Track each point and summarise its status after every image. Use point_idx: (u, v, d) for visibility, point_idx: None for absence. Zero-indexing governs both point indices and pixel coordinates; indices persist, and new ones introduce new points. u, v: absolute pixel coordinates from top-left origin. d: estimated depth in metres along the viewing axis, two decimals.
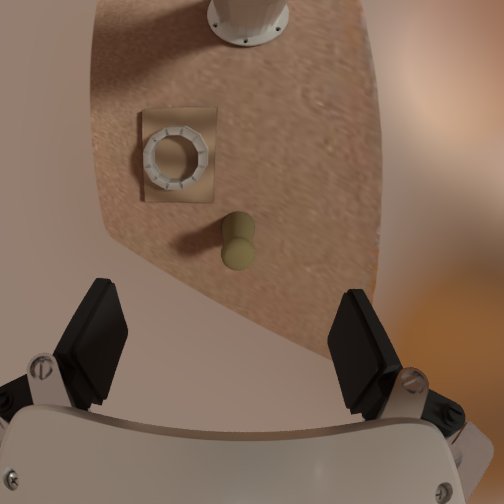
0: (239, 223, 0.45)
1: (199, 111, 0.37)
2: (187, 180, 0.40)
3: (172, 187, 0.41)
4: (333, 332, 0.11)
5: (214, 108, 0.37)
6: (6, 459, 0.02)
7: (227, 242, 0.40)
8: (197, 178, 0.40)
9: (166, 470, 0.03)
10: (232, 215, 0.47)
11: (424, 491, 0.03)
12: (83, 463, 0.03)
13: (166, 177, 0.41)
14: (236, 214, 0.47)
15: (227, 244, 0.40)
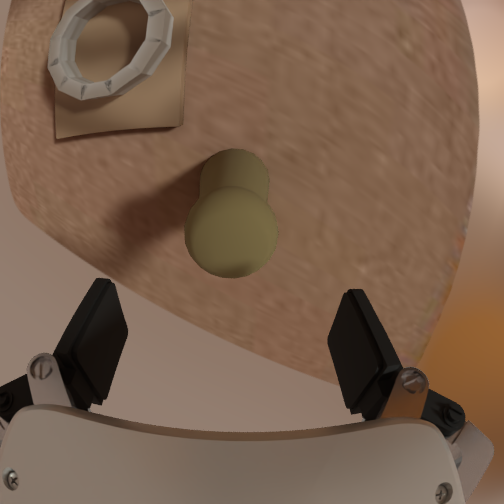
0: (235, 166, 0.18)
1: None
2: (121, 72, 0.14)
3: (92, 93, 0.14)
4: (333, 331, 0.11)
5: None
6: (6, 459, 0.02)
7: (201, 199, 0.14)
8: (142, 65, 0.14)
9: (166, 470, 0.03)
10: (222, 155, 0.20)
11: (424, 491, 0.03)
12: (83, 463, 0.03)
13: (88, 81, 0.15)
14: (230, 152, 0.21)
15: (200, 205, 0.13)
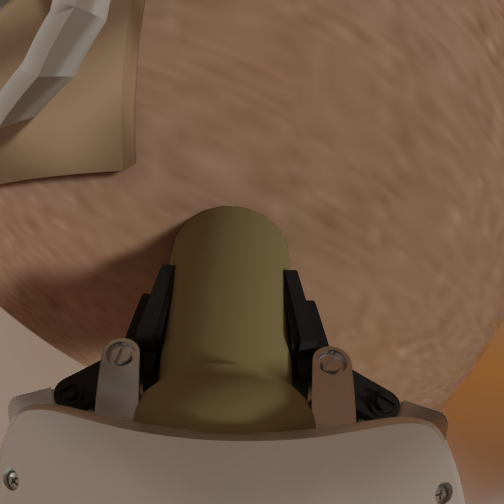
0: (229, 263, 0.09)
1: None
2: (11, 81, 0.05)
3: None
4: None
5: None
6: (6, 459, 0.02)
7: (147, 420, 0.05)
8: (40, 60, 0.05)
9: (166, 470, 0.03)
10: (206, 223, 0.11)
11: (424, 491, 0.03)
12: (83, 463, 0.03)
13: None
14: (221, 217, 0.12)
15: None
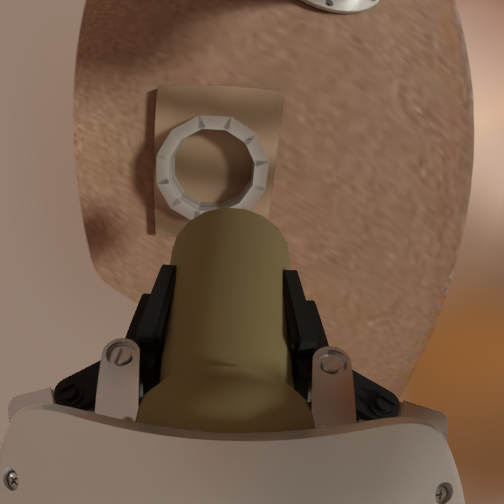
0: (230, 265, 0.09)
1: (256, 94, 0.22)
2: None
3: None
4: None
5: (280, 93, 0.22)
6: (6, 459, 0.02)
7: (148, 421, 0.05)
8: (249, 206, 0.25)
9: (166, 470, 0.03)
10: (207, 224, 0.11)
11: (424, 491, 0.03)
12: (83, 463, 0.03)
13: (193, 200, 0.26)
14: (221, 219, 0.12)
15: None
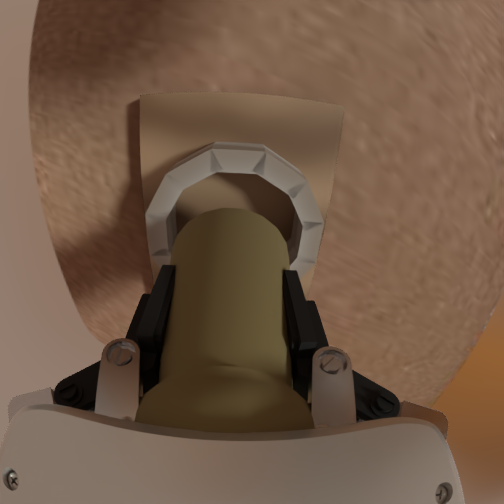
0: (229, 265, 0.09)
1: (301, 109, 0.14)
2: None
3: None
4: None
5: (339, 108, 0.14)
6: (6, 459, 0.02)
7: (148, 422, 0.05)
8: None
9: (166, 470, 0.03)
10: (206, 225, 0.11)
11: (424, 491, 0.03)
12: (83, 463, 0.03)
13: None
14: (221, 219, 0.12)
15: None
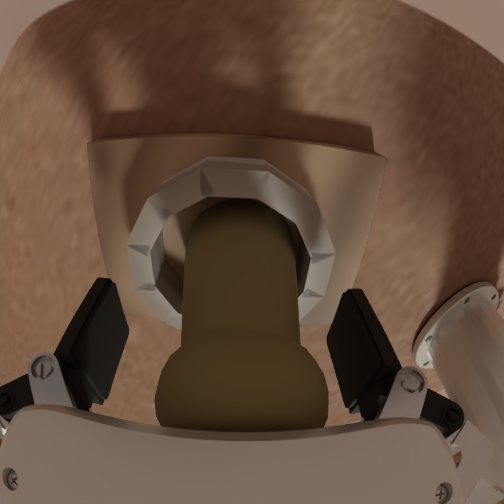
0: (243, 246, 0.11)
1: (340, 296, 0.17)
2: (164, 303, 0.14)
3: (136, 263, 0.12)
4: (332, 331, 0.11)
5: None
6: (6, 459, 0.02)
7: (177, 373, 0.06)
8: (174, 324, 0.15)
9: (166, 470, 0.03)
10: (220, 213, 0.13)
11: (424, 491, 0.03)
12: (83, 463, 0.03)
13: (164, 223, 0.13)
14: (232, 208, 0.13)
15: (176, 394, 0.06)
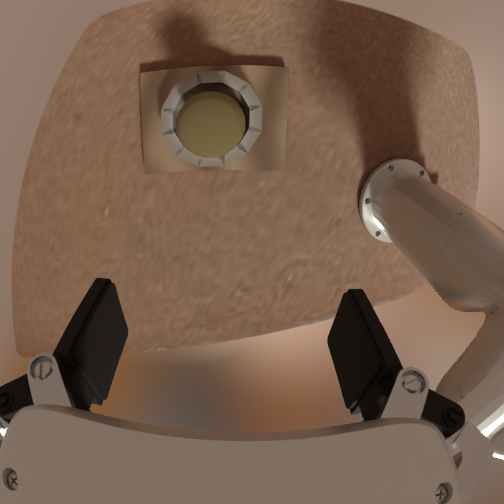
0: None
1: (280, 147, 0.28)
2: (177, 141, 0.25)
3: (165, 118, 0.24)
4: (333, 332, 0.11)
5: (282, 167, 0.30)
6: (6, 459, 0.02)
7: None
8: (181, 155, 0.26)
9: (166, 470, 0.03)
10: None
11: (424, 491, 0.03)
12: (83, 463, 0.03)
13: (179, 104, 0.24)
14: None
15: (186, 102, 0.17)
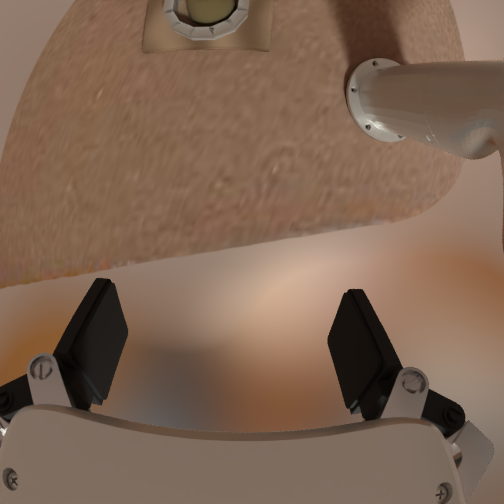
0: None
1: (265, 31, 0.25)
2: (174, 17, 0.21)
3: (167, 2, 0.20)
4: (333, 331, 0.11)
5: (268, 47, 0.26)
6: (6, 459, 0.02)
7: None
8: (176, 27, 0.22)
9: (166, 470, 0.03)
10: None
11: (424, 491, 0.03)
12: (83, 463, 0.03)
13: None
14: None
15: None
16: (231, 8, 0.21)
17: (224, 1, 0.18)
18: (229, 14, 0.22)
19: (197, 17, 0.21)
